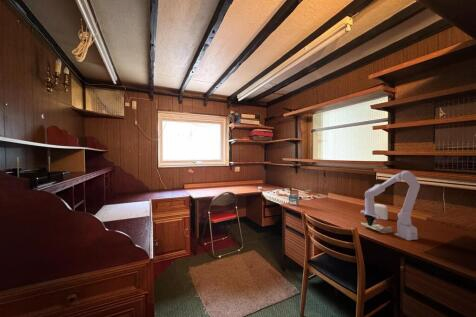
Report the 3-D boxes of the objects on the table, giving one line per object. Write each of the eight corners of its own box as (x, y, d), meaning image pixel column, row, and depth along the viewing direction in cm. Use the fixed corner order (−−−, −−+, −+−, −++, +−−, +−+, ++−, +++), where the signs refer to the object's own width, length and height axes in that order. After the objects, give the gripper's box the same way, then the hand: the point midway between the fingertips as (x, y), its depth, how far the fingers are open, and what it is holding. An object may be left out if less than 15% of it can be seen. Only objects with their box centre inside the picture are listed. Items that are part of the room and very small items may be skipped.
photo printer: (372, 217, 159) (371, 203, 159) (373, 216, 162) (373, 202, 162) (387, 220, 151) (386, 205, 151) (388, 219, 154) (388, 204, 154)
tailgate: (382, 229, 128) (375, 228, 128) (381, 230, 128) (375, 230, 127) (366, 223, 141) (360, 222, 140) (366, 224, 141) (360, 223, 140)
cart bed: (392, 232, 129) (391, 227, 129) (382, 233, 128) (382, 228, 128) (375, 225, 142) (375, 220, 142) (366, 226, 141) (366, 221, 141)
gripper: (356, 204, 140) (357, 222, 140) (373, 210, 126) (374, 229, 126) (364, 204, 141) (365, 221, 142) (382, 209, 127) (383, 228, 127)
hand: (370, 225), depth 134 cm, fingers closed, pressing on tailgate
